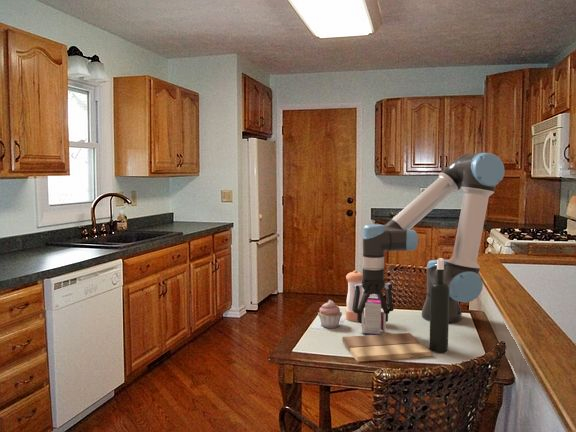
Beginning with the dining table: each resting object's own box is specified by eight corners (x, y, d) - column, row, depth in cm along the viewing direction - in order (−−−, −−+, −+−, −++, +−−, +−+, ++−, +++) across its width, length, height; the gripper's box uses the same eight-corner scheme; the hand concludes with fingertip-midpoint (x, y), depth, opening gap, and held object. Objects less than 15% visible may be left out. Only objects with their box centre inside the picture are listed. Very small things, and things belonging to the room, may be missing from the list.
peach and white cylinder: (367, 317, 204) (367, 270, 202) (359, 322, 198) (359, 273, 196) (350, 315, 208) (350, 268, 206) (342, 319, 202) (342, 271, 200)
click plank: (349, 351, 166) (349, 346, 165) (342, 341, 174) (342, 336, 173) (419, 346, 170) (419, 342, 170) (409, 337, 178) (409, 332, 177)
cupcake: (320, 321, 200) (320, 295, 199) (344, 323, 197) (344, 297, 196) (314, 328, 191) (314, 301, 190) (339, 330, 188) (339, 303, 187)
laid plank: (420, 347, 169) (420, 343, 169) (431, 356, 161) (431, 351, 161) (349, 352, 165) (349, 347, 165) (357, 361, 157) (357, 356, 157)
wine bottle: (451, 352, 165) (453, 259, 163) (435, 353, 164) (437, 260, 161) (441, 346, 171) (443, 256, 168) (425, 347, 169) (427, 257, 166)
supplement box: (380, 335, 182) (381, 303, 181) (363, 334, 183) (364, 303, 182) (381, 330, 188) (381, 299, 186) (364, 329, 189) (365, 299, 188)
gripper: (396, 265, 189) (395, 326, 191) (342, 267, 185) (342, 329, 187) (404, 269, 181) (403, 332, 183) (348, 271, 178) (348, 335, 180)
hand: (372, 330), depth 185 cm, fingers closed on supplement box, 7 cm apart
